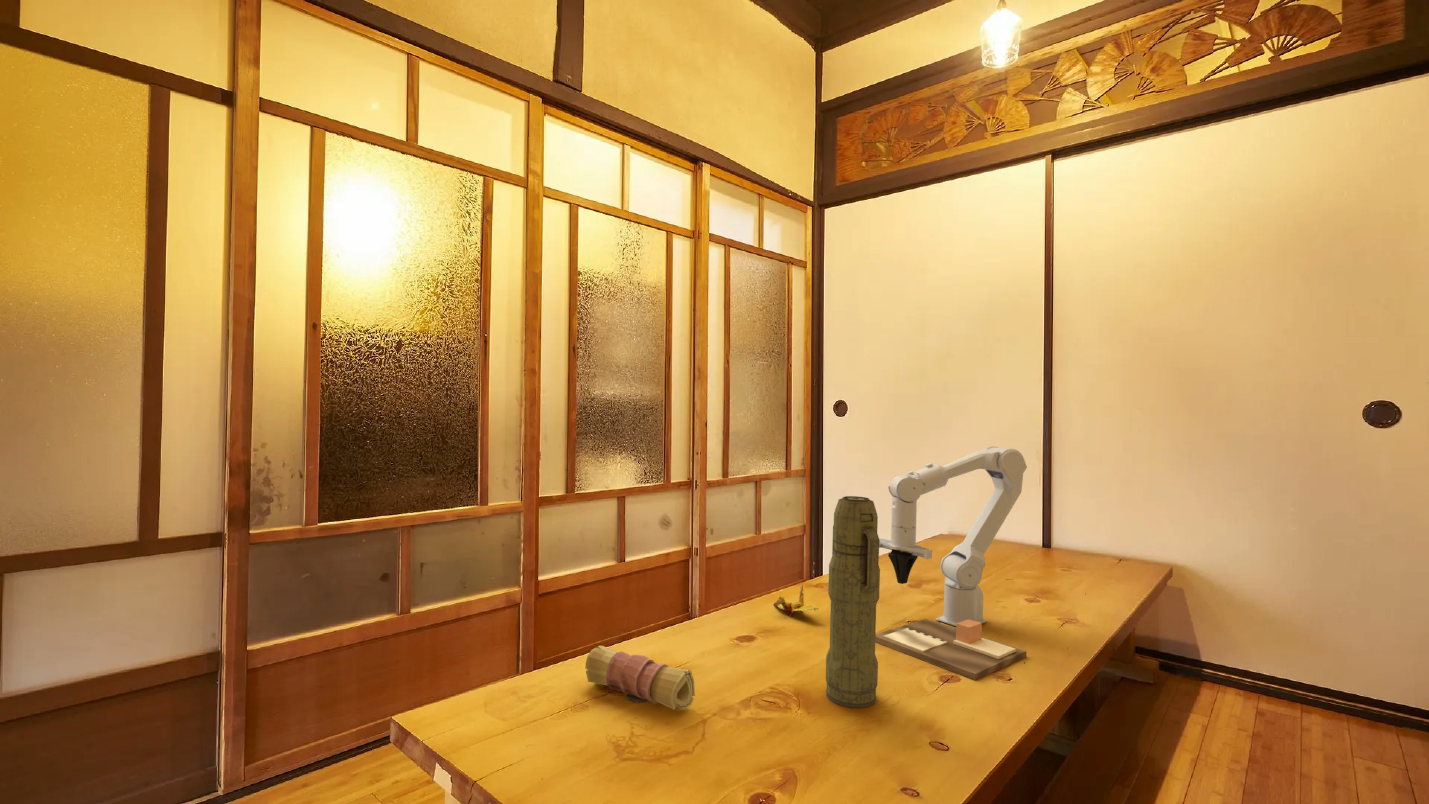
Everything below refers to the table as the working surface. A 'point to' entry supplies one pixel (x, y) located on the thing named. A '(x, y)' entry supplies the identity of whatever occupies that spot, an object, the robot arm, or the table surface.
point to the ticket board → (943, 649)
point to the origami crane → (794, 604)
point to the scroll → (641, 678)
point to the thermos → (853, 604)
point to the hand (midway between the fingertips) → (902, 582)
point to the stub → (979, 640)
